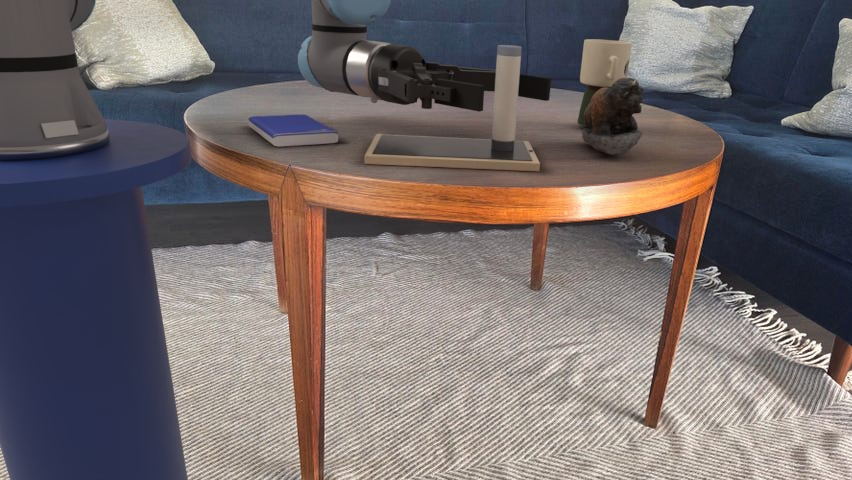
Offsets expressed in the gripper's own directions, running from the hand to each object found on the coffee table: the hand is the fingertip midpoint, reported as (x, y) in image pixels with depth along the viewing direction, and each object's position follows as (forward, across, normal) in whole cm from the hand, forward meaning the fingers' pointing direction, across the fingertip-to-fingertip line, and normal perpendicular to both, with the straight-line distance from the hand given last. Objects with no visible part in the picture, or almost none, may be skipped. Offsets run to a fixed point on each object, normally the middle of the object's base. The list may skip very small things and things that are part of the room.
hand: (517, 93), depth 75 cm
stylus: (-2, 0, -7) cm, 7 cm away
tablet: (-6, +4, -8) cm, 11 cm away
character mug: (-4, -28, -8) cm, 30 cm away
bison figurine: (+5, -14, -8) cm, 17 cm away
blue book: (-28, +12, -8) cm, 31 cm away
